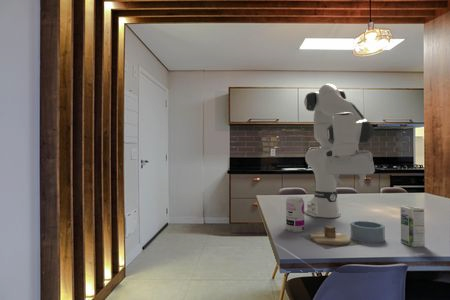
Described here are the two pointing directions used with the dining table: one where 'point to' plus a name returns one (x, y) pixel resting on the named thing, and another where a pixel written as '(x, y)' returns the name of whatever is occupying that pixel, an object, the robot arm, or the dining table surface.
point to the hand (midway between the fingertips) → (349, 185)
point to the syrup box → (412, 226)
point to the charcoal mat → (352, 242)
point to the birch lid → (330, 237)
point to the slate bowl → (367, 231)
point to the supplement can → (295, 214)
